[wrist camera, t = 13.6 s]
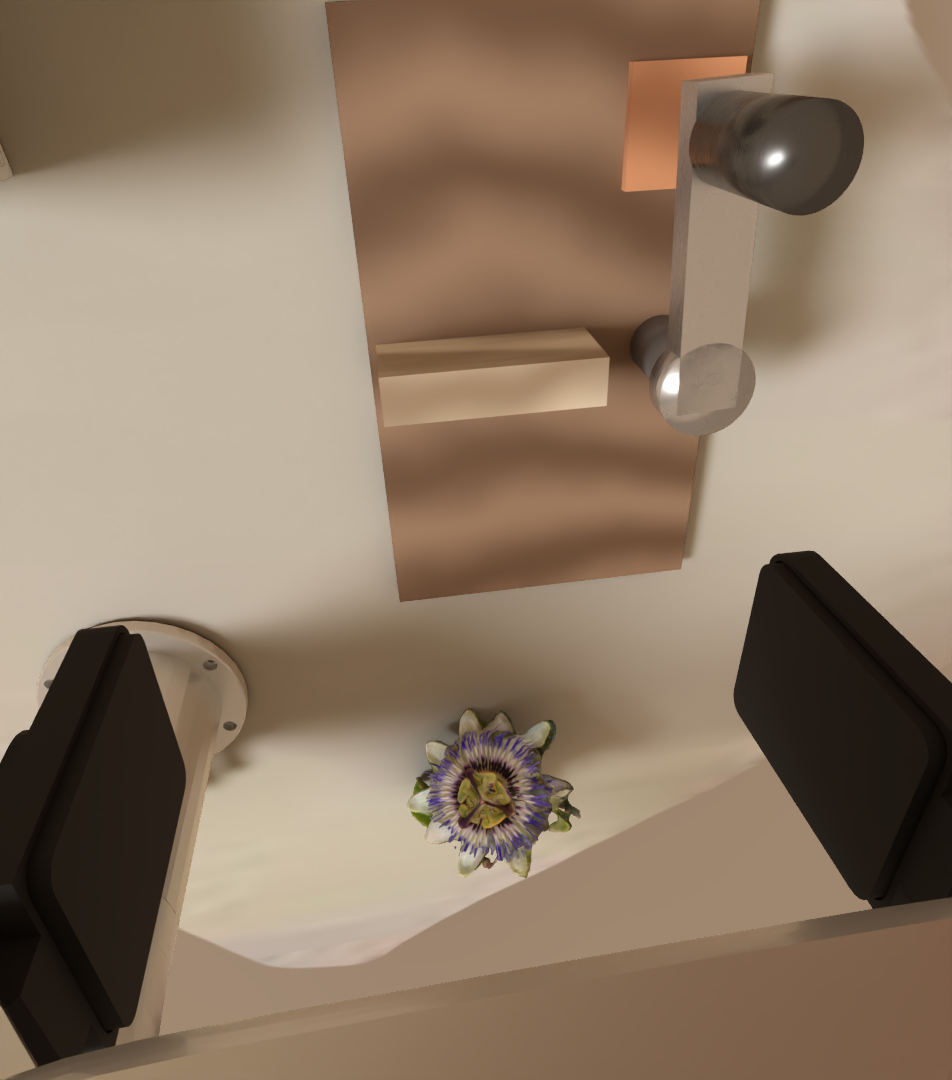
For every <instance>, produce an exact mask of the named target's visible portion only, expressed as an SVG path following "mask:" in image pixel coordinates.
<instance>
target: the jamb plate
mask: <svg viewBox="0 0 952 1080" xmlns="http://www.w3.org/2000/svg"><path fill="white" fill-rule="evenodd" d="M759 6H760V0H359V1H335V2H325V7H326V15H327V23H328V31H329V39H330V47H331V55H332V63H333V71H334V79H335V87H336V95H337V103H338V111H339V119H340V127H341V135H342V143H343V151H344V159H345V167H346V175H347V183H348V190H349V198H350V206H351V214H352V222H353V230H354V238H355V246H356V254H357V262H358V270H359V278H360V286H361V294H362V302H363V310H364V318H365V326H366V334H367V342H368V350H369V358H370V366H371V374H372V382H373V390H374V398H375V406H376V414H377V422H378V430H379V438H380V446H381V454H382V462H383V470H384V478H385V486H386V494H387V502H388V510H389V518H390V526H391V534H392V542H393V550H394V558H395V566H396V574H397V582H398V590H399V598H400V602H404V601H412V600H421V599H429V598H438V597H446V596H455V595H463V594H472V593H481V592H489V591H498V590H506V589H515V588H523V587H532V586H540V585H549V584H557V583H566V582H574V581H583V580H591V579H600V578H609V577H617V576H626V575H634V574H643V573H651V572H660V571H668V570H677V569H681V565H682V558H683V551H684V544H685V537H686V530H687V522H688V515H689V508H690V501H691V494H692V487H693V479H694V472H695V465H696V458H697V451H698V443H699V436H692V435H686V434H683V433H681V432H679V431H677V430H675V429H674V428H672V427H671V426H670V425H669V424H668V422H667V421H666V420H665V419H664V418H663V416H662V415H661V414H660V413H659V412H658V411H657V409H656V408H655V407H654V405H653V403H652V401H651V398H650V394H649V378H650V374H651V371H652V368H653V366H654V364H655V362H656V360H657V359H658V357H659V356H660V355H661V353H662V352H663V351H664V350H665V349H666V348H667V344H668V326H669V308H670V290H671V271H672V253H673V235H674V217H675V198H676V180H677V162H678V144H679V125H680V107H681V89H682V81H684V80H692V79H701V78H709V77H718V76H727V75H735V74H744V73H750V70H751V63H752V56H753V49H754V42H755V35H756V27H757V20H758V13H759Z"/></svg>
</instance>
